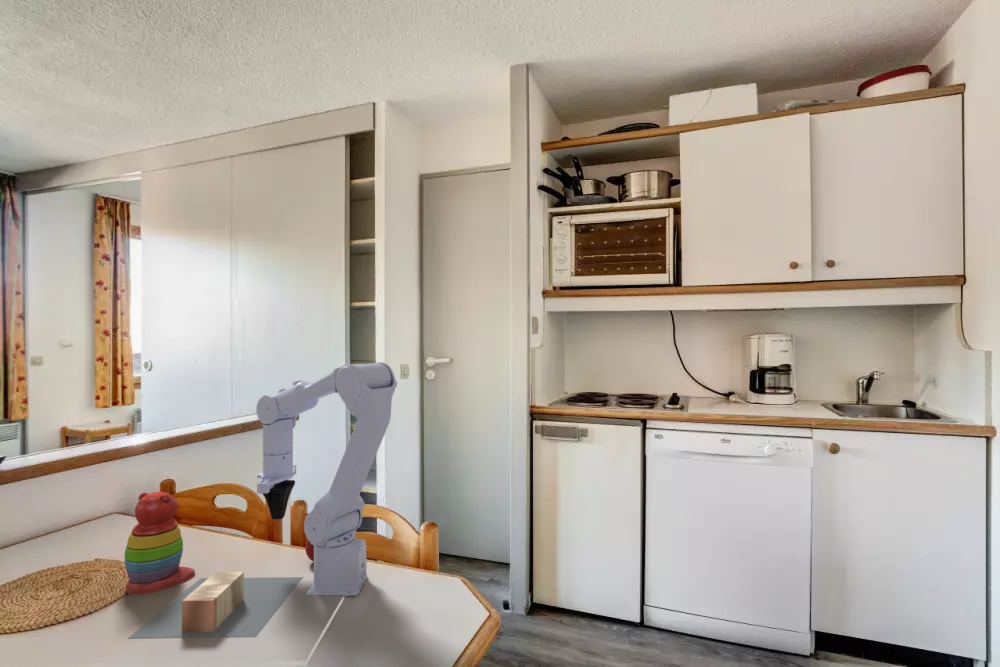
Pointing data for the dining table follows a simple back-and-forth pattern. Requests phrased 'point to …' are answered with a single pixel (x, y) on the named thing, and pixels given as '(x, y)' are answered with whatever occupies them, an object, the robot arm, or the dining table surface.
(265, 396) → the robot arm
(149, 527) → the stacking bear
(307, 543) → the onion
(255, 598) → the slate mat
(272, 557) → the dining table surface
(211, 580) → the beech block
